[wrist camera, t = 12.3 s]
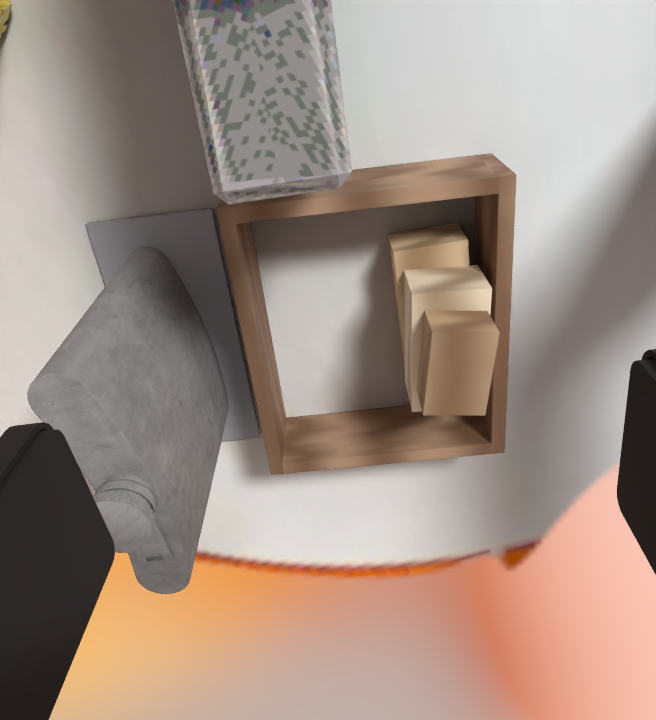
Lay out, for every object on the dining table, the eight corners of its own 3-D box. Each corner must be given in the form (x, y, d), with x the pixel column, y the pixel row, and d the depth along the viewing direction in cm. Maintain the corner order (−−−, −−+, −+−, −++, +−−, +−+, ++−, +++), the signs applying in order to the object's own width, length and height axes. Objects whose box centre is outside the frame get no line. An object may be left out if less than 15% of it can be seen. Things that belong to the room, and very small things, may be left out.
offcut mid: (477, 265, 41) (492, 288, 38) (471, 377, 46) (483, 407, 42) (403, 270, 41) (411, 294, 38) (405, 381, 46) (412, 412, 42)
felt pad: (212, 208, 43) (211, 210, 42) (260, 434, 53) (259, 437, 52) (87, 222, 43) (85, 224, 43) (158, 444, 53) (157, 447, 53)
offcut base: (456, 221, 44) (468, 239, 40) (465, 362, 50) (475, 388, 46) (387, 232, 44) (393, 251, 41) (404, 371, 50) (410, 398, 47)
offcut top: (487, 310, 38) (499, 332, 36) (474, 389, 41) (485, 415, 39) (424, 310, 38) (432, 332, 36) (416, 389, 41) (423, 415, 39)
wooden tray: (491, 153, 41) (516, 174, 36) (485, 407, 51) (504, 452, 46) (229, 184, 42) (215, 209, 37) (276, 428, 52) (271, 474, 47)
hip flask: (120, 252, 44) (-11, 413, 26) (172, 238, 43) (75, 393, 26) (198, 425, 52) (137, 635, 34) (243, 414, 51) (205, 623, 34)
